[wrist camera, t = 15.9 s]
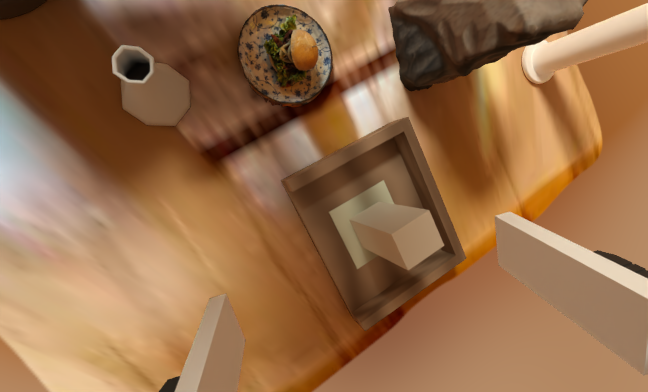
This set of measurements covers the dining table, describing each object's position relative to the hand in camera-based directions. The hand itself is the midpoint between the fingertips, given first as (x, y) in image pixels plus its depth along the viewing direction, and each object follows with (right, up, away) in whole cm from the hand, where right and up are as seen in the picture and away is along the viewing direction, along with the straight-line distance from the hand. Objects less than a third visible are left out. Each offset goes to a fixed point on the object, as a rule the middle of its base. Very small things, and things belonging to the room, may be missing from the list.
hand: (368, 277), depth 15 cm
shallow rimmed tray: (+5, +1, +30) cm, 30 cm away
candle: (+34, +26, +38) cm, 57 cm away
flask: (-21, +15, +20) cm, 33 cm away
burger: (-7, +21, +25) cm, 33 cm away
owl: (+12, +26, +30) cm, 42 cm away
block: (+4, 0, +28) cm, 28 cm away
